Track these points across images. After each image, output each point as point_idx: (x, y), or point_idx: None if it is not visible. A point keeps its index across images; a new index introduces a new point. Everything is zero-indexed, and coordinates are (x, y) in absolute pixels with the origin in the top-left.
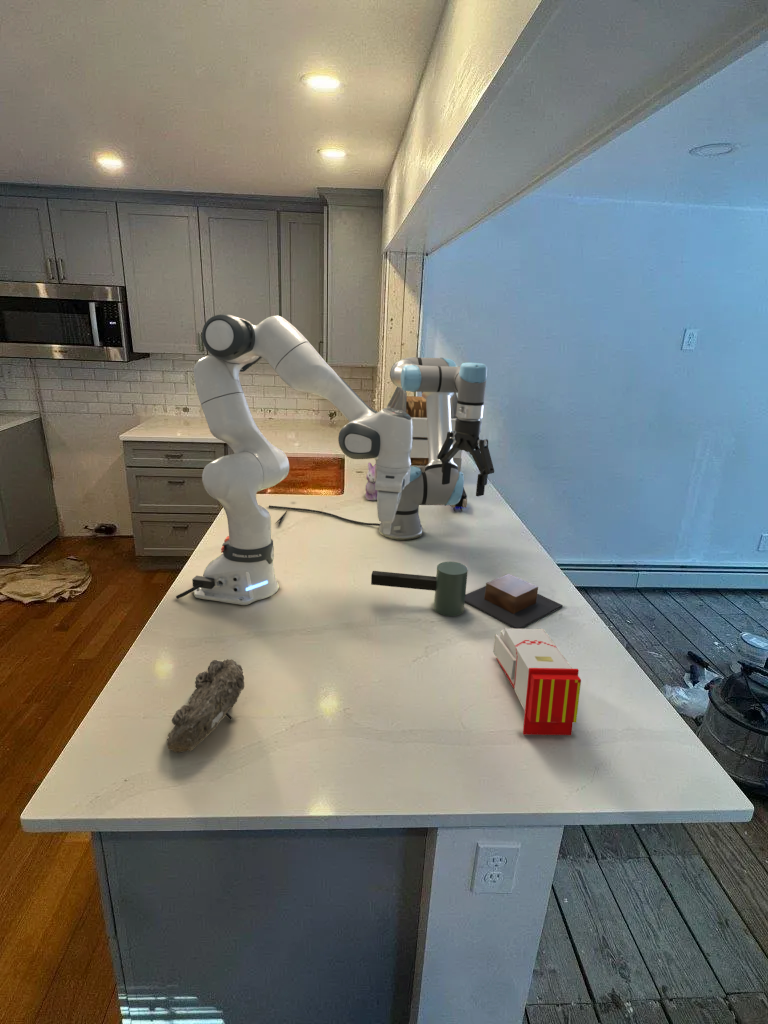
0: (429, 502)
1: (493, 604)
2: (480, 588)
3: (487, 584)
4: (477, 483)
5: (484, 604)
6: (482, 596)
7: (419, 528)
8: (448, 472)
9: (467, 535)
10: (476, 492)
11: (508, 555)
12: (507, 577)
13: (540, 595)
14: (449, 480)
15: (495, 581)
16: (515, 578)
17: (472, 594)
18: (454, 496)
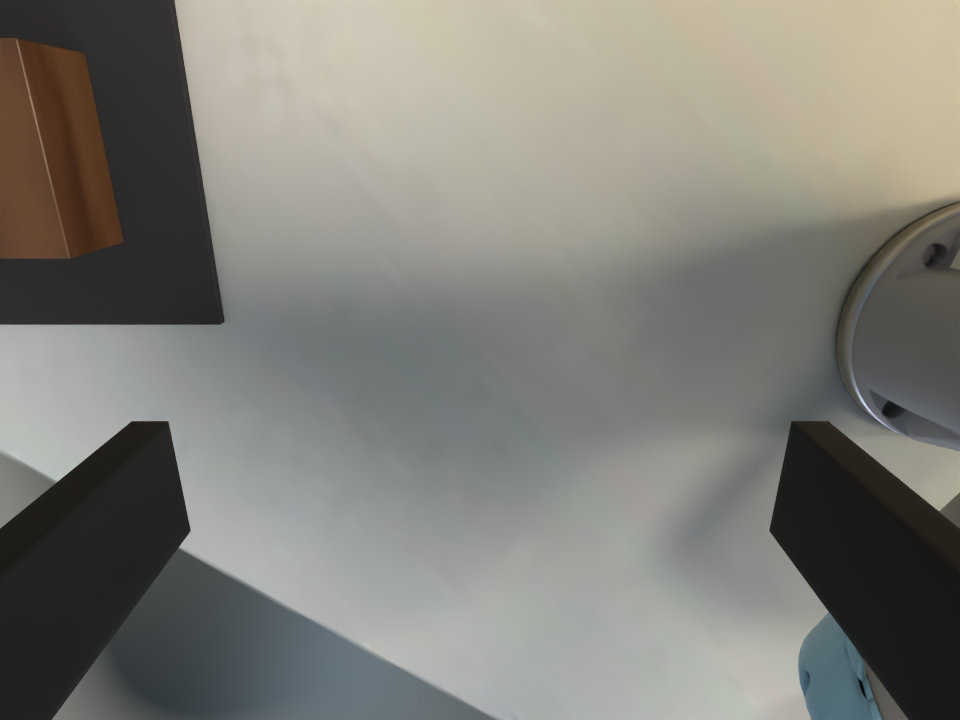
0: (952, 503)
1: None
2: (189, 135)
3: (10, 39)
4: (31, 538)
5: (36, 3)
6: (112, 68)
7: (871, 378)
8: (883, 622)
9: (674, 556)
10: (132, 446)
11: (405, 533)
12: (28, 208)
13: (9, 320)
14: (792, 553)
15: (11, 105)
16: (2, 237)
17: (153, 40)
18: (832, 654)
